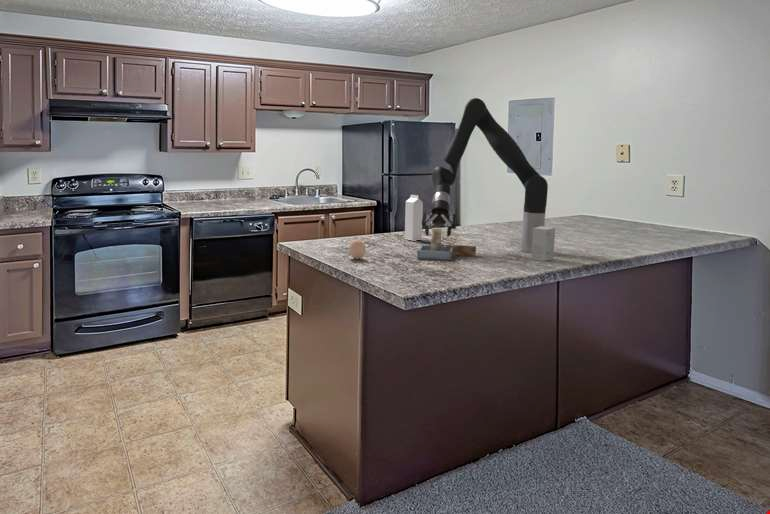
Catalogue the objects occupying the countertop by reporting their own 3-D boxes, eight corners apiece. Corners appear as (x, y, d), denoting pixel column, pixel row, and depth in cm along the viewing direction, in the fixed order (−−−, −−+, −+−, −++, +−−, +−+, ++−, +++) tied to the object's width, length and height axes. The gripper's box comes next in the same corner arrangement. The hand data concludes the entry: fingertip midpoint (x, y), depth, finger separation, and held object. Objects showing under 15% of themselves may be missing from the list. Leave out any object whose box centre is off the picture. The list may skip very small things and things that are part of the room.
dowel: (441, 254, 235) (441, 228, 233) (440, 256, 231) (441, 229, 229) (431, 253, 235) (432, 227, 233) (430, 255, 232) (431, 228, 229)
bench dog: (475, 255, 238) (476, 245, 238) (475, 256, 236) (475, 247, 235) (447, 253, 241) (447, 244, 240) (446, 255, 238) (446, 245, 237)
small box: (539, 256, 238) (541, 225, 235) (553, 258, 234) (555, 227, 231) (530, 259, 232) (532, 227, 229) (545, 261, 228) (547, 229, 225)
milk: (412, 241, 271) (413, 195, 267) (404, 240, 276) (405, 194, 271) (422, 240, 275) (423, 195, 270) (414, 239, 279) (415, 194, 275)
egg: (367, 260, 224) (367, 240, 222) (351, 261, 222) (351, 241, 221) (363, 257, 230) (363, 238, 229) (347, 257, 228) (347, 238, 227)
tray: (453, 254, 239) (453, 246, 238) (450, 260, 226) (451, 252, 225) (421, 253, 241) (421, 245, 241) (417, 258, 228) (417, 250, 228)
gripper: (423, 198, 241) (419, 228, 232) (457, 199, 239) (454, 230, 230) (424, 209, 247) (421, 239, 239) (457, 210, 245) (455, 241, 236)
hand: (437, 235), depth 234 cm, fingers open, 8 cm apart
